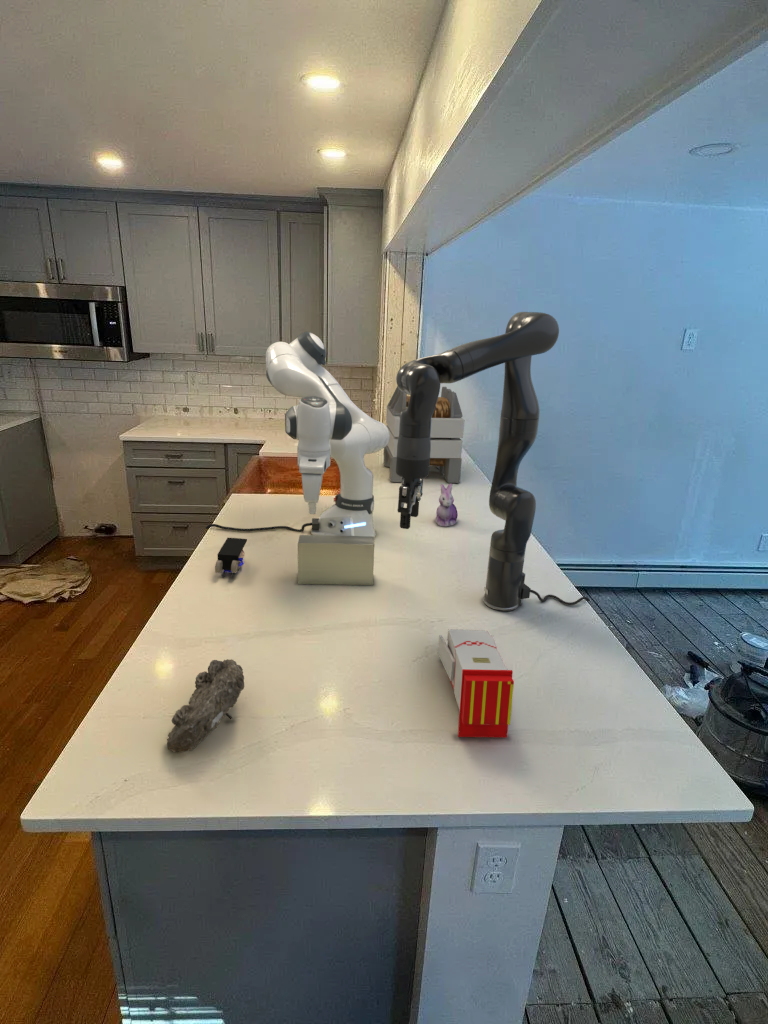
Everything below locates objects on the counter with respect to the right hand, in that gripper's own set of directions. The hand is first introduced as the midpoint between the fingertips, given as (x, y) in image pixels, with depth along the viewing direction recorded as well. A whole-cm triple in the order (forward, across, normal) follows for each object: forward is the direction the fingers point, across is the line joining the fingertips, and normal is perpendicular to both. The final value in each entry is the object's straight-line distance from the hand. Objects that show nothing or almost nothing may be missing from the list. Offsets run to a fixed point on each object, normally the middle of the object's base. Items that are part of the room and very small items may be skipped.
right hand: (409, 521), depth 133 cm
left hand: (+6, +16, +31) cm, 35 cm away
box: (+28, +18, +25) cm, 41 cm away
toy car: (+28, +13, +55) cm, 63 cm away
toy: (+28, -21, -20) cm, 40 cm away
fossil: (+28, -45, +26) cm, 59 cm away
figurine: (+28, +76, +3) cm, 81 cm away
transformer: (+28, +139, +27) cm, 144 cm away
